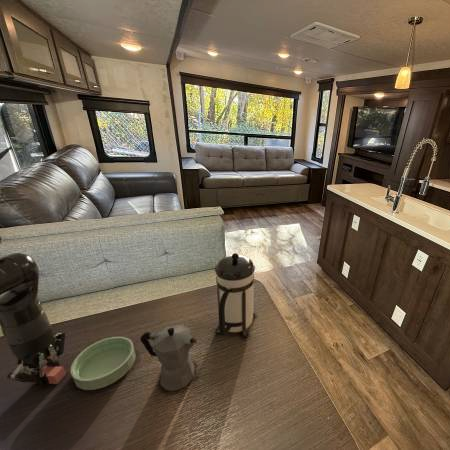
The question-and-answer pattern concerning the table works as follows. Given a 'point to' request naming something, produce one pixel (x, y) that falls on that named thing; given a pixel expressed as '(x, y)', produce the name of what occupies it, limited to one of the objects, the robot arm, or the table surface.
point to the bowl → (103, 363)
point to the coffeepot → (172, 355)
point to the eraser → (54, 374)
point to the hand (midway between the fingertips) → (49, 377)
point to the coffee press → (235, 293)
